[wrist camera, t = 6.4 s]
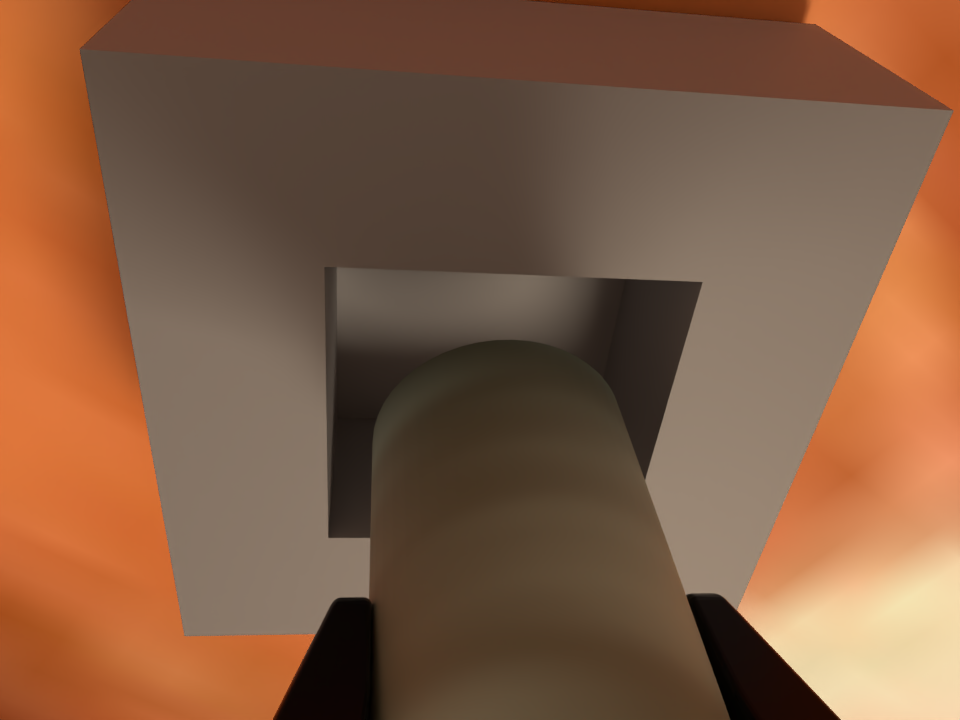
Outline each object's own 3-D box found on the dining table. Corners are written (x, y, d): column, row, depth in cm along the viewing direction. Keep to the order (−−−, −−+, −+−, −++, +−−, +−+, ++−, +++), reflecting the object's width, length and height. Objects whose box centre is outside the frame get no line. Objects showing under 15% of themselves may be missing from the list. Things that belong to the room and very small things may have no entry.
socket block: (221, 476, 18) (184, 636, 14) (163, -30, 12) (79, 48, 9) (671, 479, 19) (728, 627, 16) (815, 24, 13) (953, 111, 10)
